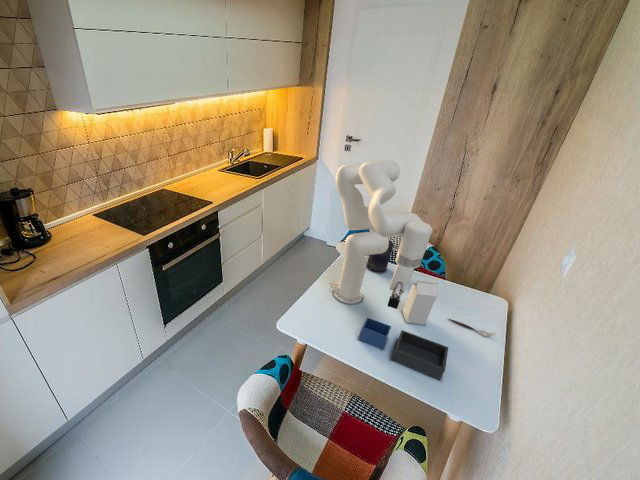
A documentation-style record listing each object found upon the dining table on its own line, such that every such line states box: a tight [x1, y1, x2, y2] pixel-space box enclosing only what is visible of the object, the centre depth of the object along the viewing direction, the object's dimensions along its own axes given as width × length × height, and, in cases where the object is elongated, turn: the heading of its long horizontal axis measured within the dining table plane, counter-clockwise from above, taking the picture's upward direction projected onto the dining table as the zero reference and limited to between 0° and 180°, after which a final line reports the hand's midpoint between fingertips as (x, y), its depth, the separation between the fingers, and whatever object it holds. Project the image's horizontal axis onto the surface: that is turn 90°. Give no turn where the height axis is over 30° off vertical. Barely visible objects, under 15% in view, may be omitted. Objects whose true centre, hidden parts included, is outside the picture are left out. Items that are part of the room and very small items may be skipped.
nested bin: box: [358, 317, 392, 350], centre depth 122 cm, size 9×7×6 cm
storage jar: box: [366, 240, 394, 274], centre depth 163 cm, size 10×10×15 cm
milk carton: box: [402, 279, 439, 326], centre depth 129 cm, size 7×7×19 cm
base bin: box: [390, 330, 449, 381], centre depth 114 cm, size 16×12×5 cm
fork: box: [448, 318, 496, 337], centre depth 128 cm, size 3×16×2 cm, turn 49°
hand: (394, 299), depth 113 cm, fingers open, 9 cm apart
